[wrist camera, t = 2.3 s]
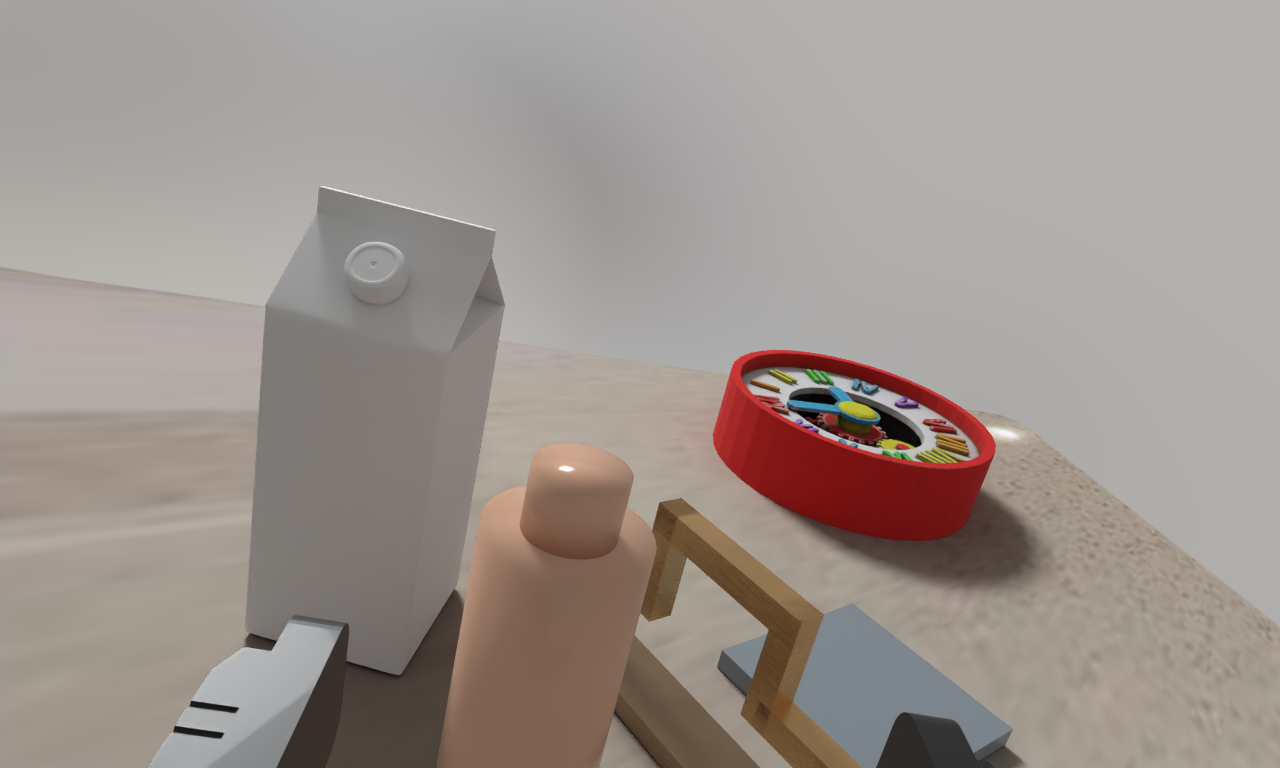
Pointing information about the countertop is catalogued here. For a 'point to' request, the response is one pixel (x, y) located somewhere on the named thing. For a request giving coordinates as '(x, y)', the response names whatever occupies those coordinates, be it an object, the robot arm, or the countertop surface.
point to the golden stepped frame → (685, 732)
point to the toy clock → (852, 445)
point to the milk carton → (371, 423)
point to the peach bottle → (548, 616)
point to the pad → (870, 687)
